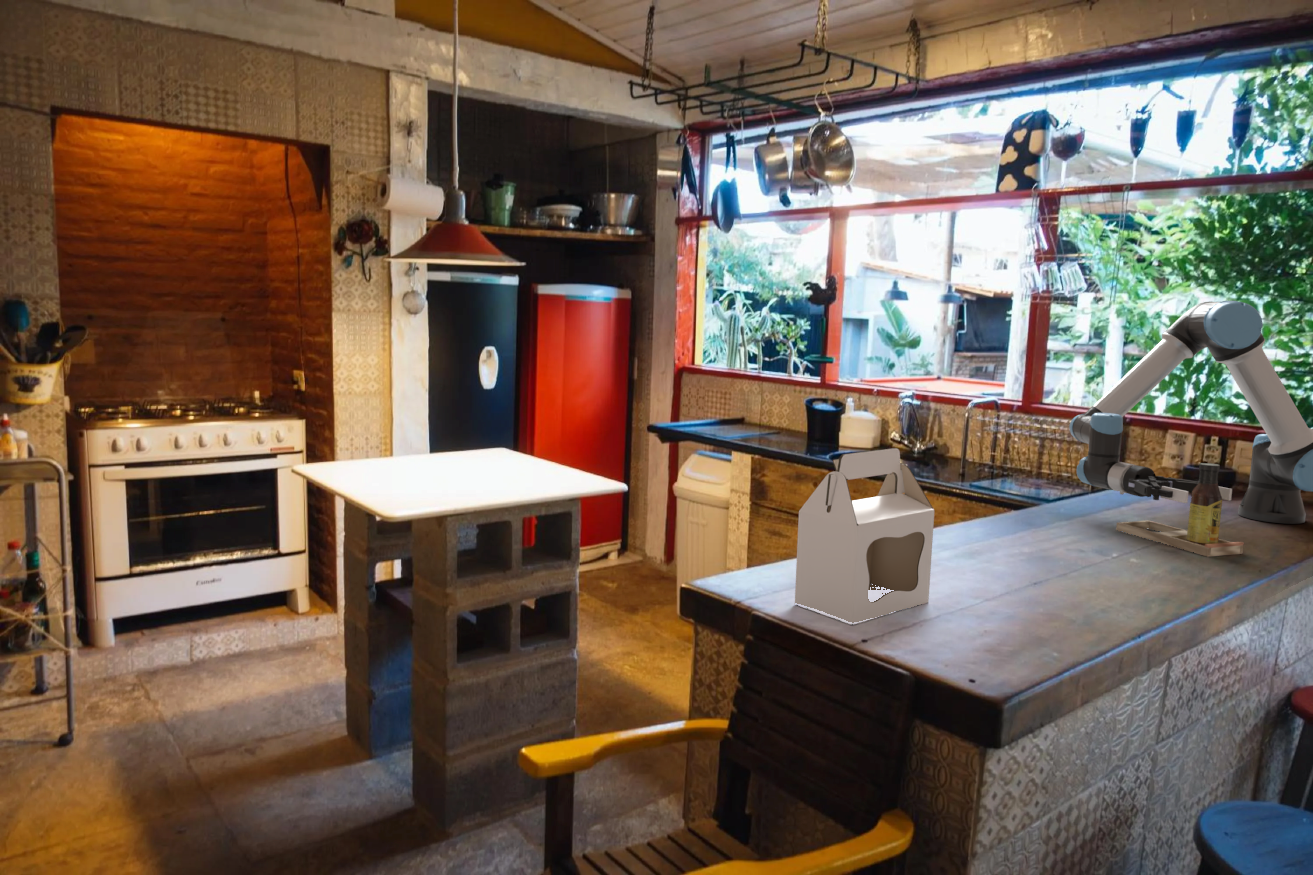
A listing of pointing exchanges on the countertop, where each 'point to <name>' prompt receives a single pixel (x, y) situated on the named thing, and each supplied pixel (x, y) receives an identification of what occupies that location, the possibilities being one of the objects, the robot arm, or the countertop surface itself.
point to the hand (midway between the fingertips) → (1209, 496)
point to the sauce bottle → (1205, 507)
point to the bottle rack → (1178, 538)
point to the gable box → (865, 540)
